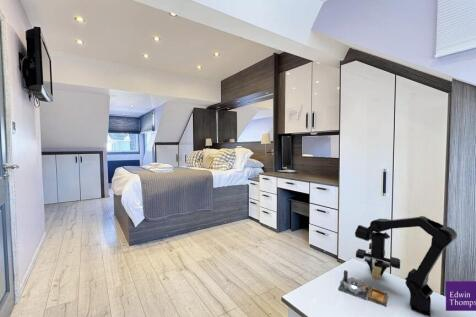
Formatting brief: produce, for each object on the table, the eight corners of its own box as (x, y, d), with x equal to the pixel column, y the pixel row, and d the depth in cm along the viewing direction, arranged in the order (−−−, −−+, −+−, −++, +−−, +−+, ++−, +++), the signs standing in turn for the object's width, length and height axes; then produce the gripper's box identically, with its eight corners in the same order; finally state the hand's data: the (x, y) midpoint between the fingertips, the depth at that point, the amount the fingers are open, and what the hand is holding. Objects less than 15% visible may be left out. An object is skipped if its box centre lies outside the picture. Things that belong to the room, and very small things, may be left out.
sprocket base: (369, 287, 113) (369, 285, 113) (365, 299, 104) (365, 298, 104) (343, 278, 121) (343, 277, 121) (338, 289, 111) (338, 288, 111)
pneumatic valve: (374, 269, 130) (375, 249, 130) (386, 281, 119) (387, 259, 118) (364, 268, 131) (365, 248, 130) (375, 280, 119) (376, 258, 119)
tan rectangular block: (381, 275, 114) (381, 268, 114) (380, 280, 110) (380, 272, 110) (373, 273, 116) (373, 265, 116) (371, 277, 112) (372, 269, 112)
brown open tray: (387, 296, 107) (387, 292, 107) (386, 306, 99) (386, 303, 99) (369, 290, 111) (369, 286, 111) (367, 299, 104) (367, 296, 104)
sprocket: (344, 276, 121) (344, 265, 120) (370, 285, 113) (370, 273, 113) (337, 287, 111) (337, 274, 111) (365, 298, 104) (365, 284, 103)
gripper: (401, 243, 113) (399, 273, 114) (359, 234, 124) (358, 262, 125) (400, 251, 104) (399, 284, 105) (356, 241, 115) (355, 271, 116)
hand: (376, 274), depth 113 cm, fingers closed on tan rectangular block, 3 cm apart
